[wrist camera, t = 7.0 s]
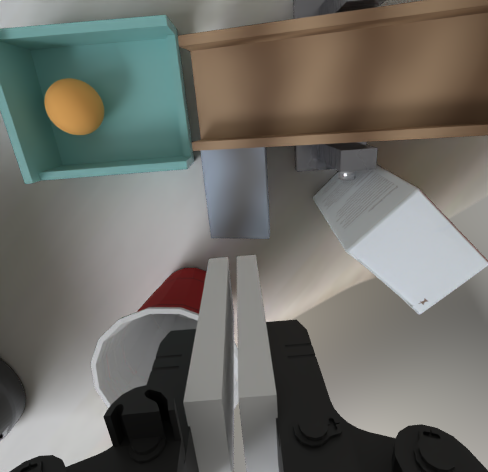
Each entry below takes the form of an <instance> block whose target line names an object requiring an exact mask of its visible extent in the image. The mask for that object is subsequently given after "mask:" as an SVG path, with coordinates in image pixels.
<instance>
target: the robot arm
mask: <svg viewBox="0 0 488 472" xmlns="http://www.w3.org/2000/svg"><path fill="white" fill-rule="evenodd" d="M237 326H238V399H239V408H240V416H241V426H242V434H243V444H244V453H245V462H246V472H488V470H487V469H486V468H485V467H484V466H483V465H482V464H481V463H480V462H479V461H478V460H477V459H476V457H475V456H474V455H473V454H472V453H471V452H470V451H469V450H468V449H467V448H466V447H465V446H464V445H463V444H461V443H460V442H459V441H458V440H457V439H455V438H454V437H453V436H451V435H449V434H448V433H445V432H444V431H442V430H440V429H438V428H435V427H430V426H426V425H412V426H408V427H406V428H404V429H403V430H401V431H400V432H399V433H398V435H397V437H396V438H392V437H387V436H383V435H379V434H374V433H370V432H367V431H364V430H361V429H358V428H356V427H355V426H353V425H351V424H349V423H348V422H346V421H345V420H344V419H343V418H342V417H341V416H340V415H339V414H338V413H337V411H336V410H335V409H334V407H333V405H332V403H331V401H330V398H329V395H328V392H327V389H326V386H325V383H324V380H323V377H322V374H321V371H320V368H319V365H318V362H317V359H316V357H315V353H314V350H313V347H312V345H311V341H310V338H309V335H308V332H307V330H306V329H305V328H304V327H303V326H302V325H301V324H300V323H299V322H298V321H297V320H287V321H274V322H266V320H265V313H264V306H263V299H262V293H261V286H260V279H259V272H258V266H257V259H256V255H248V256H237ZM25 400H26V399H25V392H24V389H23V386H22V384H21V382H20V380H19V378H18V377H17V376H16V374H15V373H14V372H13V370H12V369H11V368H10V367H9V366H8V365H7V364H6V363H4V362H3V361H2V360H1V359H0V441H1V440H2V439H3V438H4V437H5V436H6V435H7V434H8V433H9V432H10V431H11V429H12V428H13V426H14V425H15V424H16V422H17V421H18V419H19V418H20V417H21V415H22V413H23V411H24V408H25ZM104 419H105V422H106V425H107V428H108V432H109V435H110V438H111V441H112V444H113V446H112V447H111V448H109V449H108V450H106V451H104V452H102V453H100V454H98V455H96V456H93V457H90V458H88V459H85V460H83V461H80V462H78V463H75V464H73V465H70V466H67V467H65V465H64V463H63V461H62V460H61V459H59V458H57V457H55V456H53V455H49V456H38V457H36V458H33V459H31V460H28V461H25V462H23V463H22V464H21V465H19V466H18V467H16V468H15V469H13V470H12V471H10V472H234V309H233V299H232V289H231V280H230V270H229V260H228V257H222V258H210V259H209V261H208V266H207V272H206V278H205V283H204V289H203V294H202V300H201V306H200V311H199V317H198V323H197V328H196V329H187V330H174V331H170V332H169V333H168V334H167V335H166V337H165V338H164V339H163V340H162V341H161V342H160V345H159V348H158V351H157V354H156V359H155V360H154V363H153V366H152V371H151V372H150V375H149V378H148V382H147V385H144V386H140V387H136V388H133V389H131V390H130V391H128V392H126V393H124V394H122V395H121V396H120V397H119V398H118V399H117V400H116V401H114V402H113V403H112V404H111V405H110V407H109V409H108V410H107V412H106V413H105V415H104Z"/></svg>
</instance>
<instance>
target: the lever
mask: <svg viewBox="0 0 488 472" xmlns="http://www.w3.org/2000/svg"><path fill="white" fill-rule="evenodd" d="M178 43H179V47H182V48H184V49H186V50H189V51H190V53H191V61H192V69H193V78H194V86H195V94H196V103H197V111H198V119H199V127H200V136H201V140H198V141H195V142H192V149H193V151H201V159H202V167H203V175H204V183H205V192H206V200H207V208H208V216H209V224H210V232H211V238H246V239H269V237H270V220H269V199H268V177H267V156H266V147H276V146H295V145H314V144H332V143H351V142H370V141H389V140H408V139H426V138H445V137H464V136H483V135H488V0H424V1H417V2H410V3H403V4H396V5H389V6H382V7H375V8H368V9H361V10H354V11H347V12H340V13H333V14H326V15H319V16H312V17H305V18H298V19H291V20H284V21H277V22H270V23H263V24H256V25H249V26H242V27H235V28H228V29H221V30H214V31H207V32H200V33H193V34H186V35H179V36H178Z"/></svg>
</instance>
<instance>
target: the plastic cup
mask: <svg viewBox="0 0 488 472" xmlns="http://www.w3.org/2000/svg"><path fill="white" fill-rule="evenodd" d="M206 272H207V271H204V270H201V269H198V268H183V269H181V270H178V271H176V272H174V273H173V274H171V275H170V276H169V277H168V278H167V279H166V280H165V281H164V283H163V284H162V285H161V286H160V287H159V288H158V289H157V290H156V291H155V292H154V293H153V294H152V295H151V296H150V298H149V299H148V300H147V301H146V302H145V303H144V304H143V305H142V307H141V308H140V309H139V310H138V311H137V312H136V313H133V314H130V315H128V316H125V317H122V318H120V319H119V320H118V321H117V322H116V323H115V324H114V325H113V326H112V327H111V328H110V329H108V330H107V331H106V332H105V333H104V334H103V335H102V336H101V337H100V338H99V340H98V343H97V346H96V349H95V352H94V355H93V358H92V361H91V369H92V375H93V381H94V387H95V390H96V391H97V393H98V394H99V396H100V397H101V399H102V400H103V402H104V403H105V404H106V406H107V407H108V409H109V407H110V405H111V404H112V403H113V402H114V401H116V400H117V399H118V398H119V397H120V396H121V395H122V394H124V393H126V392H128V391H130V390H131V389H133V388H136V387H140V386H144V385H147V382H148V378H149V375H150V372H151V371H152V366H153V363H154V360H155V359H156V354H157V351H158V348H159V345H160V342H161V341H162V340H163V339H164V338H165V337H166V335H167V334H168V333H169V332H170V331H174V330H187V329H196V328H197V323H198V317H199V311H200V306H201V300H202V294H203V289H204V283H205V278H206ZM238 401H239V399H238V348H237V346H236V344H235V342H234V409H235V407H236V405H237V403H238Z"/></svg>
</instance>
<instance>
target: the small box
mask: <svg viewBox="0 0 488 472" xmlns="http://www.w3.org/2000/svg"><path fill="white" fill-rule="evenodd" d="M313 200H314V202H315V203H316V205H317V207H318V208H319V210H320V211H321V213H322V214H323V216H324V218H325V219H326V221H327V222H328V224H329V225H330V227H331V229H332V230H333V232H334V234H335V235H336V237H337V238H338V240H339V241H340V243H341V245H342V246H343V248H344V249H345V251H346V252H347V253H348V254H349V255H351V256H352V257H353V258H355V259H356V260H357V261H359V262H360V263H361V264H362V265H364V266H365V267H366V268H367V269H368V270H370V271H371V272H372V273H373V274H374V275H375V276H376V277H378V278H379V279H380V280H381V281H383V282H384V283H385V284H386V285H387V286H388V287H389V288H391V289H392V290H393V291H394V292H395V293H396V294H397V295H398V296H400V297H401V298H402V299H403V300H404V301H405V302H406V303H407V304H408V305H410V307H411V308H413V309H414V310H415V311H416V313H418V314H421V313H423V312H424V311H426V310H427V309H428V308H430V307H431V306H432V305H434V304H435V303H437V302H438V301H440V300H441V299H442V298H444V297H445V296H446V295H448V294H449V293H451V292H452V291H453V290H455V289H456V288H458V287H459V286H460V285H461V284H463V283H464V282H466V281H467V280H469V279H470V278H471V277H473V276H474V275H475V274H477V273H478V272H480V271H481V270H482V269H483V268H485V267H486V266H488V260H487V259H486V258H485V257H484V256H483V255H482V254H481V253H480V252H479V251H478V250H477V249H476V248H475V247H474V246H473V244H472V243H471V242H469V240H468V239H467V238H466V237H465V236H464V235H463V234H462V233H461V232H460V231H459V230H458V229H457V228H456V227H455V226H454V225H453V223H452V222H451V221H450V220H449V219H448V218H447V217H446V216H445V215H444V214H443V213H442V212H441V211H440V210H439V209H438V208H437V207H436V206H435V205H434V203H433V202H432V201H431V200H430V199H429V198H428V197H427V196H426V195H425V194H424V193H423V192H422V191H421V190H420V189H419V188H418V187H416V186H414V185H412V184H411V183H409V182H407V181H405V180H403V179H402V178H400V177H398V176H397V175H395V174H393V173H391V172H389V171H388V170H385V169H384V168H382V167H380V166H379V165H377V164H376V169H372V170H359V171H356V176H355V180H349V181H344V180H339V172H338V173H337V174H336V175H335V176H334V177H333V178H332V179H331V180H330V181H329V182H328V183H327V184H326V185H325V186H324V187H323V188H322V189H321V190H320V191H319V192H318V193H317V194H316V195H315V196H314V197H313Z"/></svg>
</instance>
